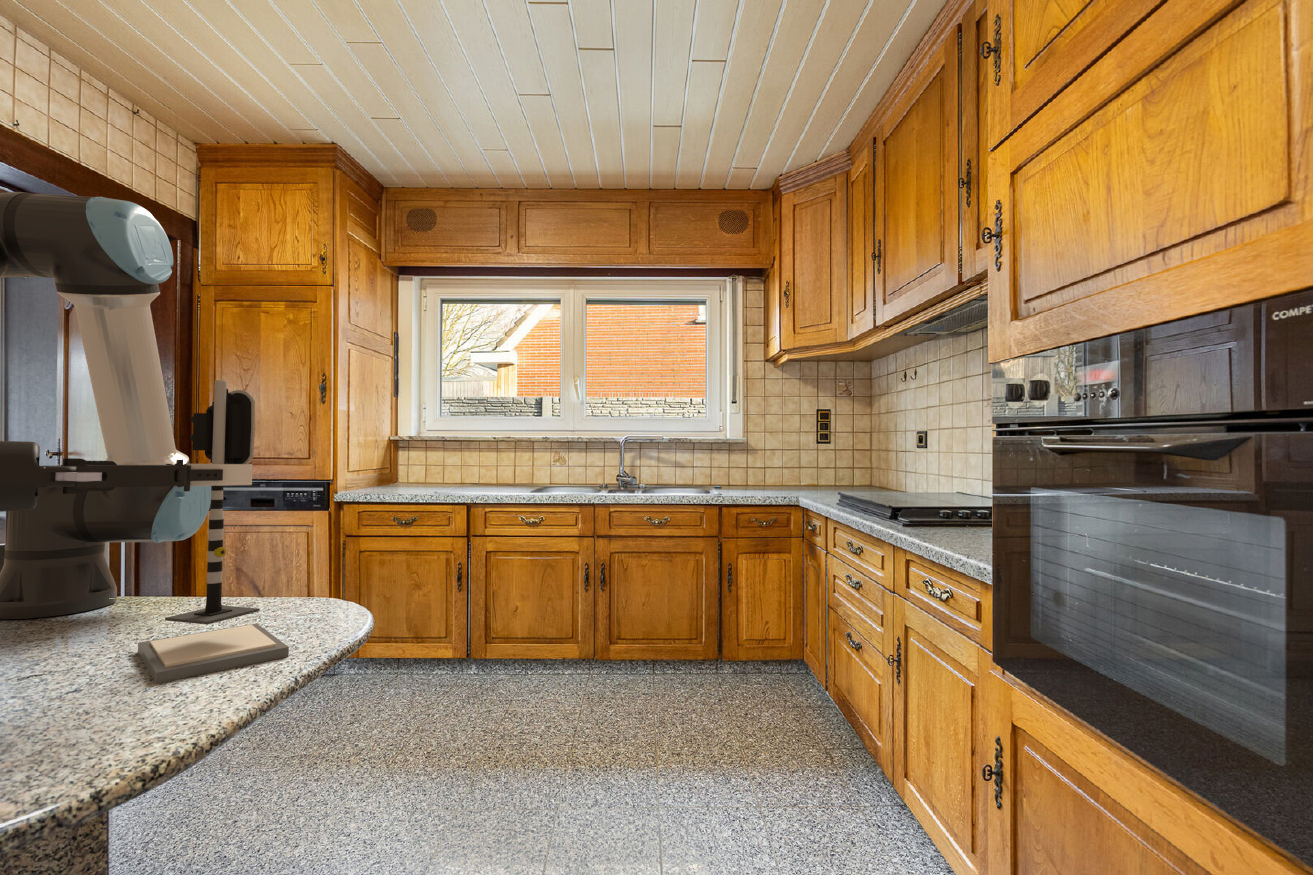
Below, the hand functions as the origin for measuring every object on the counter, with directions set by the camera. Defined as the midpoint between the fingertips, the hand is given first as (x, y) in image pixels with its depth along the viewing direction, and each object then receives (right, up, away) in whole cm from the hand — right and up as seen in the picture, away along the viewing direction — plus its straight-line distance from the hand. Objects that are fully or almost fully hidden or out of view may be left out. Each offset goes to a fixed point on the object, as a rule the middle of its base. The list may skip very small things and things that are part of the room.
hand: (248, 474), depth 81 cm
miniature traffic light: (-2, -18, -3) cm, 18 cm away
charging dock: (-2, -23, -4) cm, 23 cm away
